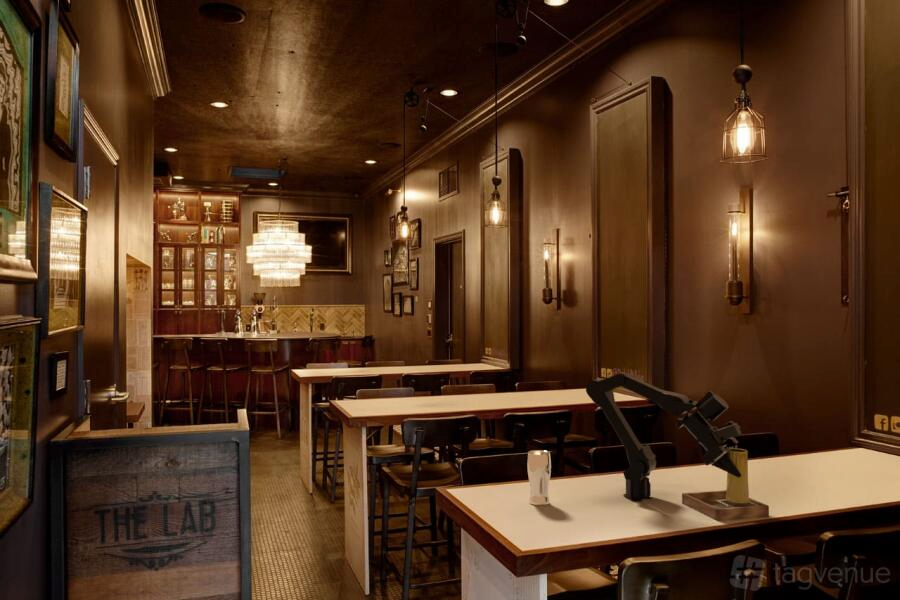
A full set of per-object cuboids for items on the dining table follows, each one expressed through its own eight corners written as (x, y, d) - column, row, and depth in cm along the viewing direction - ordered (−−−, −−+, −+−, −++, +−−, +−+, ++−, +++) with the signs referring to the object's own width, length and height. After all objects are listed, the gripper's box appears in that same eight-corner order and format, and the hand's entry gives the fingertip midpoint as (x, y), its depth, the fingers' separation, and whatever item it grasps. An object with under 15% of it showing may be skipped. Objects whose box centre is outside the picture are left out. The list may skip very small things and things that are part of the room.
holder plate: (734, 518, 184) (734, 509, 184) (714, 508, 193) (714, 500, 193) (763, 515, 186) (763, 506, 186) (742, 506, 195) (742, 498, 195)
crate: (717, 522, 182) (717, 509, 182) (682, 505, 198) (682, 493, 198) (768, 518, 185) (768, 505, 185) (730, 501, 202) (730, 489, 202)
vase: (731, 496, 194) (731, 447, 194) (753, 501, 189) (753, 450, 189) (721, 500, 190) (721, 449, 190) (743, 505, 185) (743, 453, 185)
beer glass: (532, 507, 197) (532, 455, 197) (524, 500, 203) (523, 450, 204) (554, 505, 199) (554, 454, 199) (545, 498, 205) (545, 449, 206)
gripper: (714, 417, 184) (757, 463, 178) (730, 409, 200) (771, 451, 193) (685, 442, 189) (726, 488, 182) (703, 432, 204) (741, 474, 198)
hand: (742, 474), depth 189 cm, fingers closed on vase, 5 cm apart
